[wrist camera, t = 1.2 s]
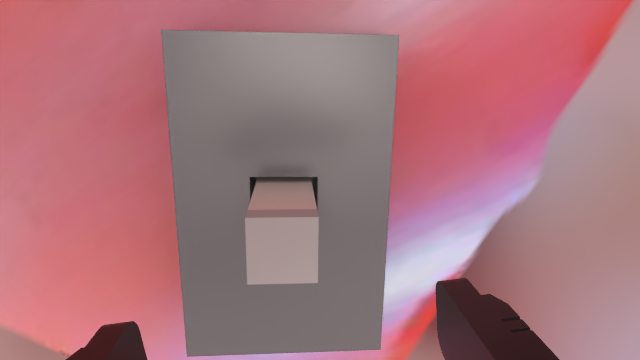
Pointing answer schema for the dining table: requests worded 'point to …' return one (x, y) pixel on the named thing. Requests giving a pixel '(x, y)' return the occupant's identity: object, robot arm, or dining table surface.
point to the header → (281, 161)
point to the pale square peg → (282, 232)
